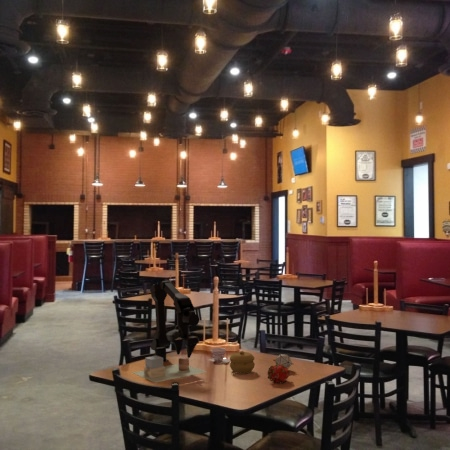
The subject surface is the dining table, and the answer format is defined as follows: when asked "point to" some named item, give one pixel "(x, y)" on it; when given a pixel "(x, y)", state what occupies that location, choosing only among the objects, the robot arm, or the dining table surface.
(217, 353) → the teacup
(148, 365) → the tower top
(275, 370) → the dragon fruit
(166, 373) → the felt mat
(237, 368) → the pot
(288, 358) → the game die
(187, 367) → the terracotta cylinder
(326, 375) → the dining table surface
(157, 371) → the tower base
